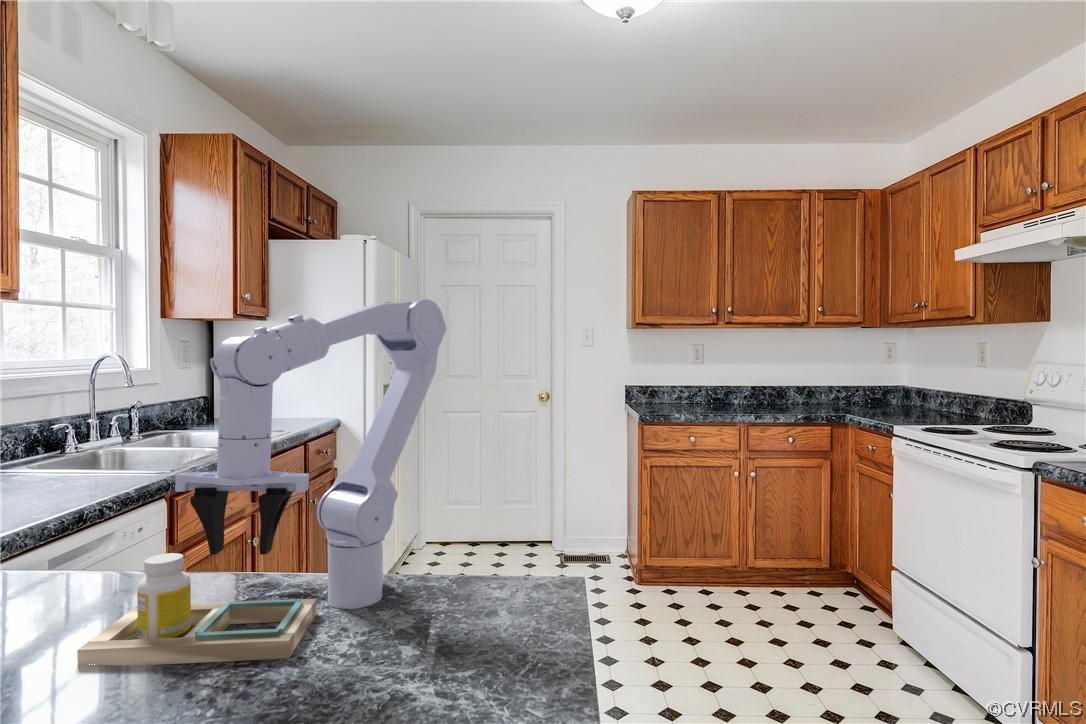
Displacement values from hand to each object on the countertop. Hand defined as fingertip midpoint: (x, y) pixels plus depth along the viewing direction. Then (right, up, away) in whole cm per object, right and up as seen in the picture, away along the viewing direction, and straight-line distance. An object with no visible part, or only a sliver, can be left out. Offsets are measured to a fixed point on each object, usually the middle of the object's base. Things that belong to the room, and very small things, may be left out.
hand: (241, 552), depth 75 cm
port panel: (-4, -10, 0) cm, 11 cm away
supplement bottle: (-9, -11, 0) cm, 14 cm away
